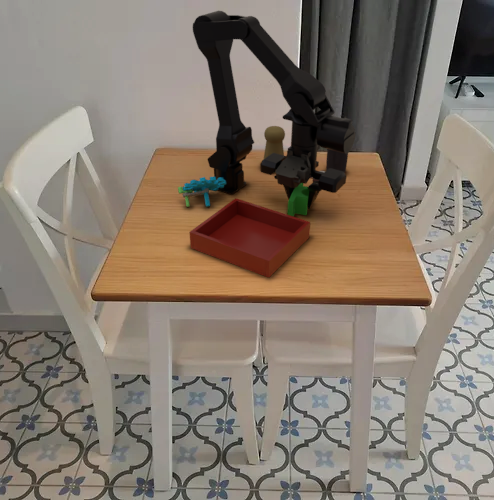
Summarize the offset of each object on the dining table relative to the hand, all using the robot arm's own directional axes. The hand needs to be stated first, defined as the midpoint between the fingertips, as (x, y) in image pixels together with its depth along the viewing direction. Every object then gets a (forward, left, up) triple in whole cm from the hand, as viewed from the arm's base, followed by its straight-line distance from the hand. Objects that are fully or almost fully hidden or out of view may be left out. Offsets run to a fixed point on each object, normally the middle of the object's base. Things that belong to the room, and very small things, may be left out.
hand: (300, 205), depth 125 cm
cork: (-16, +15, -1) cm, 22 cm away
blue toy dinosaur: (-21, -9, -1) cm, 23 cm away
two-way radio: (-1, +21, -1) cm, 21 cm away
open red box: (-2, -18, -1) cm, 18 cm away
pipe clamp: (0, 0, -1) cm, 1 cm away
